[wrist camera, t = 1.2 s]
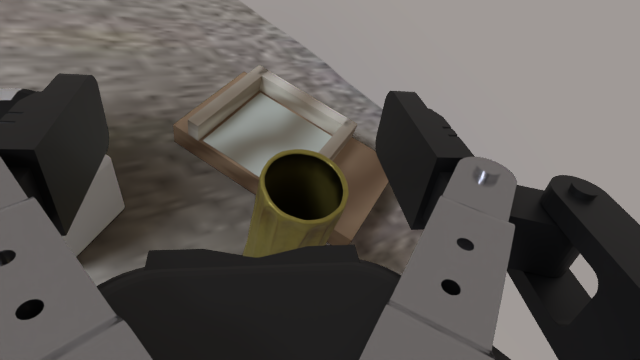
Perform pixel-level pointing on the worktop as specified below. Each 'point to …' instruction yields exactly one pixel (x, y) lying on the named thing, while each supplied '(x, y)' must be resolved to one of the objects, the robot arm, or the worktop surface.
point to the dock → (280, 139)
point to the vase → (296, 203)
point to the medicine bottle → (101, 195)
